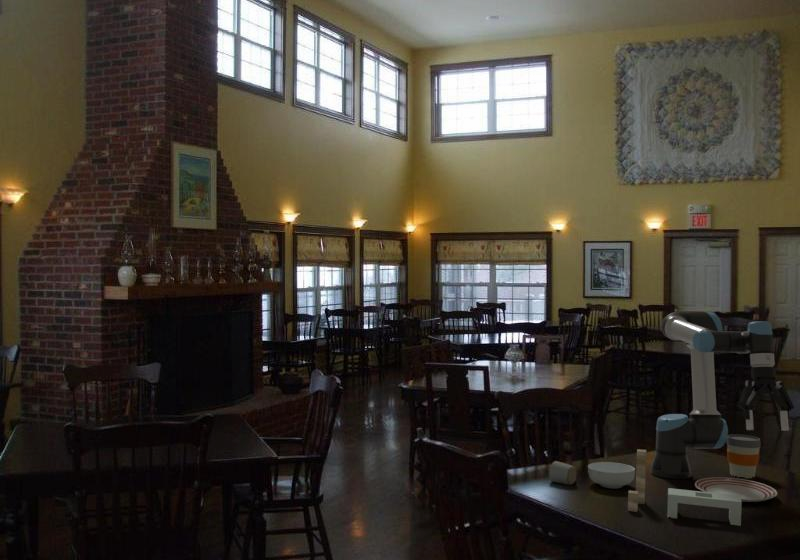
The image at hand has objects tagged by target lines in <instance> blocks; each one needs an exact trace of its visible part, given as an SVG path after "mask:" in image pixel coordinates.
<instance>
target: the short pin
mask: <svg viewBox="0 0 800 560" xmlns="http://www.w3.org/2000/svg"><path fill="white" fill-rule="evenodd" d="M627 494H628V495H627V511H629V512H636V513H638V509H639V508H638V507H639V504H638V491H636V490H628V493H627Z"/></svg>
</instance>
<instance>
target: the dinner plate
mask: <svg viewBox="0 0 800 560" xmlns="http://www.w3.org/2000/svg"><path fill="white" fill-rule="evenodd" d="M694 486H695V488H696V489H698V490H700V492H710V493H719V494H729V495H739V496H740V499H741V502H754V503H759V502H765V501H768V500H771V499H773V498H775V497H776V496H778V492H777V490H776V489H775V488H773V487H772V486H770V485H767V484H765V483H761V482H759V481H758V482H757V481H754V480H750V479H746V478H738V477H724V476H723V477H722V476H720V477H719V476H718V477H716V476H715V477H714V476H713V477H712V476H711V477H705V478H699V479H697V480H696V481H695V482H694Z"/></svg>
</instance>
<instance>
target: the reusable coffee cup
mask: <svg viewBox="0 0 800 560" xmlns="http://www.w3.org/2000/svg"><path fill="white" fill-rule="evenodd" d="M725 443H726V445H727V449H726V455H727V456H726V457H727V462H728V465H729V466H728V467H729V473H730V474H731V475H730V476H732V475H734V476H733V477H735V476H737V477H736V478H739V477H745V478H744V479H753V478H752V477H754V478H755V476H756V471H757V466H758V465H759V461H760V454H761V453H760V448H761V445H762V444H761V438H759V437H756V436H753V435H746V434H728V435H727V439H726V442H725Z"/></svg>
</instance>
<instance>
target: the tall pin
mask: <svg viewBox="0 0 800 560" xmlns="http://www.w3.org/2000/svg"><path fill="white" fill-rule="evenodd" d="M646 469H647V449H642V448H641V449H639V448H638V449H637V450H636V467H635V491H638V505H645V503H646V502H645V501H646V499H645V498H646V476H647V475H646Z"/></svg>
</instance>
